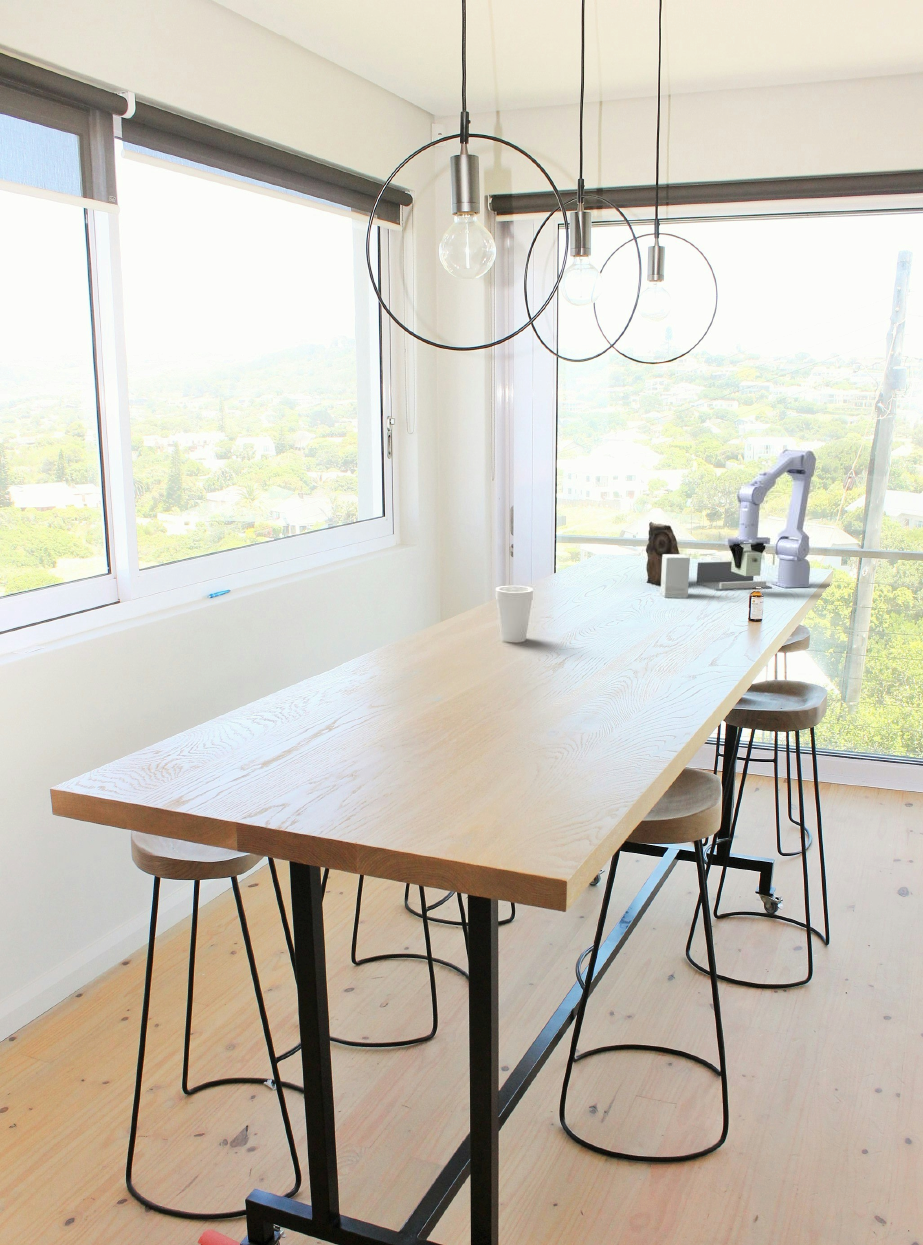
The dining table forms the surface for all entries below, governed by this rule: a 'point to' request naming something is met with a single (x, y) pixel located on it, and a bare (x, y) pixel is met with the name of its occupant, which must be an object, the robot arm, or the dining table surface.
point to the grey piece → (725, 577)
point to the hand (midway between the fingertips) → (745, 567)
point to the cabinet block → (748, 563)
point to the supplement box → (675, 575)
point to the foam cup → (513, 612)
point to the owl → (659, 550)
